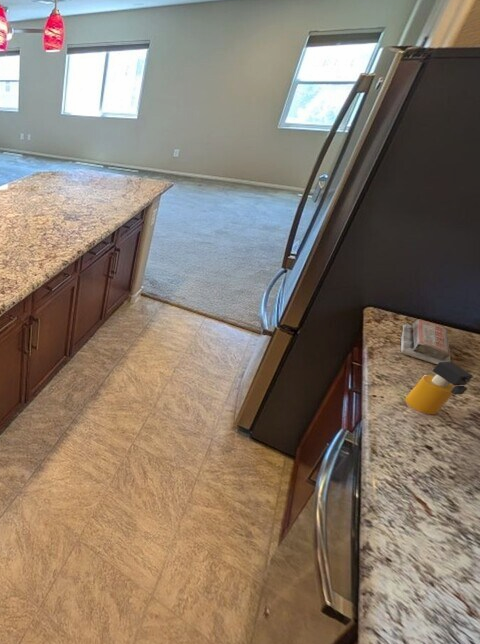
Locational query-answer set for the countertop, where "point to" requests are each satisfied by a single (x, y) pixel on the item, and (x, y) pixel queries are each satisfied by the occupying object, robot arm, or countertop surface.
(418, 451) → the countertop surface
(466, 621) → the countertop surface
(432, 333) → the packaged product
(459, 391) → the trigger
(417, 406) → the spray bottle
